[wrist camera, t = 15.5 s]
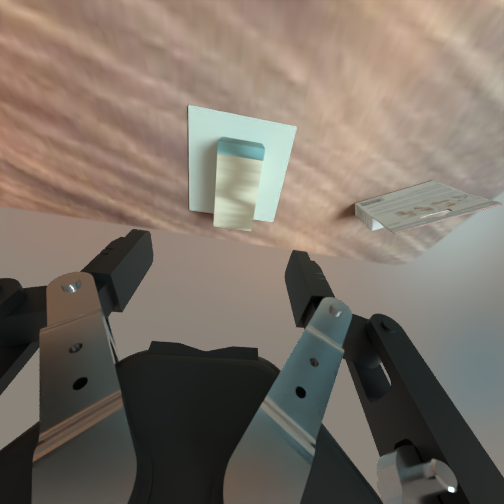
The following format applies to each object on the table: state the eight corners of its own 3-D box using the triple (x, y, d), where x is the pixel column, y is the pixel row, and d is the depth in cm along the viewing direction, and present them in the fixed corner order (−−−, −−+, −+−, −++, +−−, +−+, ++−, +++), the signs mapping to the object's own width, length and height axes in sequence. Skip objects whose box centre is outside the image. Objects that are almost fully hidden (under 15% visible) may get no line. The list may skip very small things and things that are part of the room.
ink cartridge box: (430, 194, 30) (497, 223, 22) (354, 216, 32) (390, 250, 24) (433, 178, 29) (506, 202, 21) (353, 201, 30) (392, 233, 22)
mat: (189, 209, 30) (189, 210, 30) (189, 104, 23) (188, 104, 23) (272, 221, 32) (273, 222, 32) (296, 126, 25) (296, 126, 24)
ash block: (250, 215, 31) (262, 143, 25) (251, 231, 27) (265, 148, 21) (218, 211, 30) (222, 136, 25) (213, 226, 26) (218, 140, 21)
